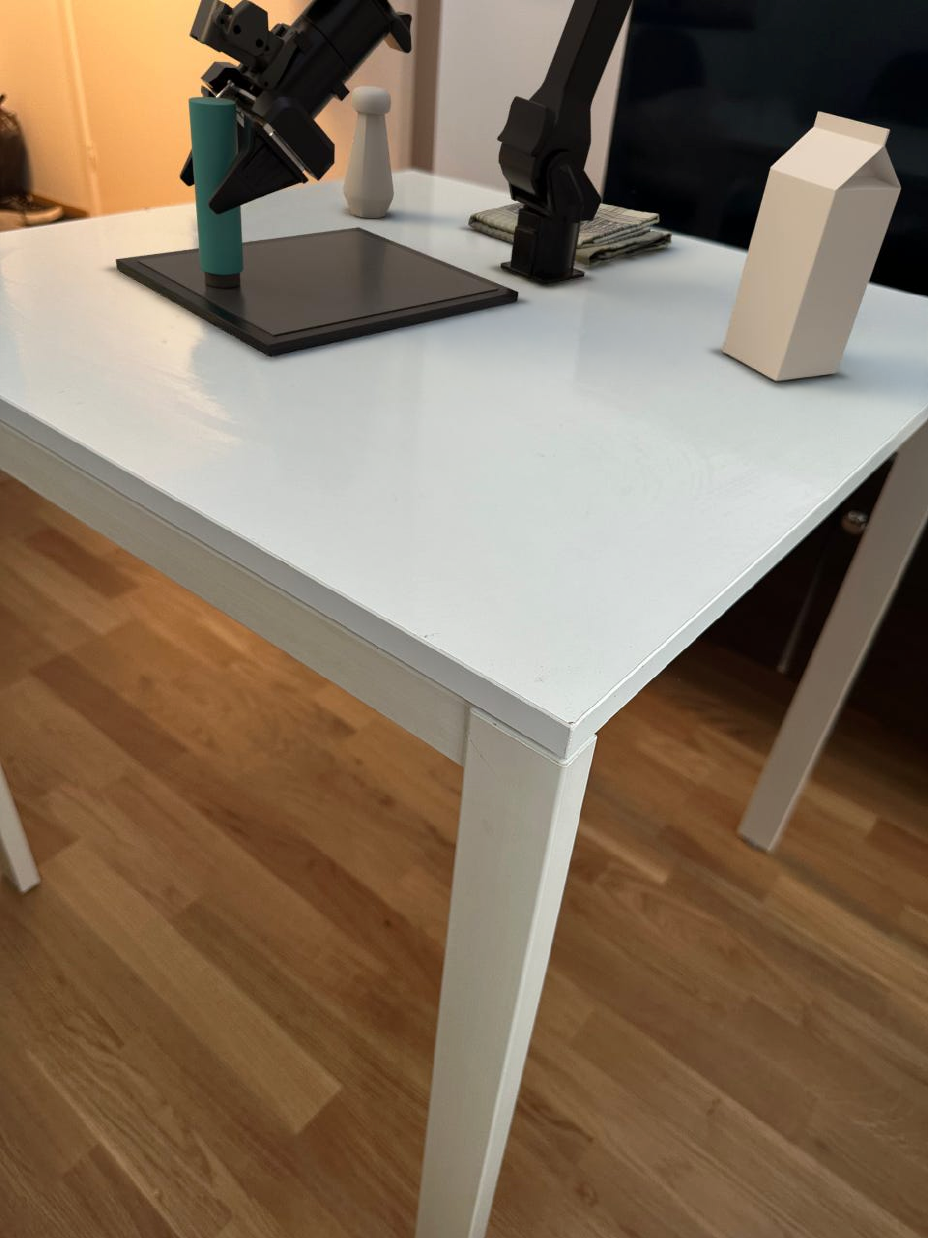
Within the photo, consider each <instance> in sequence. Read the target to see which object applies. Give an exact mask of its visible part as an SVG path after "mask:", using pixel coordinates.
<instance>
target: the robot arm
mask: <svg viewBox="0 0 928 1238" xmlns="http://www.w3.org/2000/svg"><path fill="white" fill-rule="evenodd" d="M633 1H634V0H573V3H572V6H571V8H570V11H569V14H568V17H567V19H566V22H565V25H564V27H563V31H562V33H561V35H560V38H559V41H558V42H557V46H556V48H555V51H554V53H553V57H552V59H551V62H550V64H549V67H548V70H547V73H546V75H545V77H544V80H543V82H542V84H541V85H540V87H539V88H538V89H537V90H536V91H535V93H533V95H532V96H531V97H530V98H529V99H527V98H524V97H521V96H518V95H516V96H514V97H513V100H512V101H511V104H510V107H509V111H508V115H507V119H506V123H505V125H504V127H503V129H502V130H501V132H500V134H499V135H498V136H497V137H496V141H498V142H500V143H501V144H500V147H499V151H498V158H497V159H498V160H497V161H498V164H499V166H500V170H501V174H502V176H503V178H504V179H505V180H506V181H507V184H508V189H509V195H510V199H511V200H512V201H514V202H517V203H522V204H523V205H524V206H523V208H520V209H519V212H518V220H517V226H516V227H515V230H514V239H513V243H512V248H511V255H510V261H504V262H500V266H499V268H500V269H502V270H504V271H507V272H510V273H512V274H515V275H517V276H520V277H523V278H525V279H527V280H530V281H533V282H535V283H538V284H541V285H545V286H549V285H553V284H557V283H563V282H567V281H572V280H576V279H582V278H584V277H585V274H586V272H585V271H584V270H581V269H578V268H575V263H576V261H575V257H576V251H577V245H578V239H579V232H580V226H581V222H583V221H592V220H593V219H594V217H595V215H596V213H597V210H598V208H599V206H600V204H602V201H603V199H602V197H601V195H600V194H599V192H598V190H597V189H596V186H594V184H593V182H592V181H591V179H590V177H589V175H588V174H587V172H586V171H585V168H586V163H587V160H588V159H587V158H588V156H589V153H590V149H591V145H592V105H593V102H594V99H595V96H596V94H597V92H598V89H599V85H600V83H601V81H602V79H603V77H604V74H605V71H606V68H607V66H608V63H609V61H610V58H611V56H612V53H613V51H614V49H615V46H616V44H617V40H618V38H619V36H620V33H621V31H622V30H623V29H622V28H623V26H624V23H625V22H626V18H627V16H628V13H629V12H630V8H631V6H632V4H633ZM412 21H413V16H412V15H411V14H410V13H408V12H403V11H396V10H395V8H394V6H392V3H391V2H390V0H311V1H310V2H309V4H308V5H307V6H306V7H305V8H304V10H303V11H302V12H301V13H300V14H299V15H298V16H297V17H296V18H295V20H294V21H293V22H292V23H291V24H286V23H285V22H281V23H280V22H278V23H276V24H275V25H274V26H273V27H272V28H271V29H270V28H269V27H270V26H269V12H268V11H267V10H266V9H264V8H263V7H261V6H259V5H257V3H255V2H253V1H251V0H241V1H240V2H238V3H237V4H236V5H235V6H234V7H232V6H230V4H228V3H226V2H224V1H222V0H200V3H199V5H198V8H197V12H196V15H195V17H194V20H193V23H192V25H191V29H190V32H189V37H190V38H192V39H193V40H195V41H196V42H198V43H200V44H202V45H205V46H206V47H209V48H210V49H212V50H214V51H215V52H217V53H223V54H224V55H226V56H228V57H230V58H231V59H233V60H235V61H236V62H238V63H239V64H238V65H236V64H234V63H232V62H230V61H216V60H215V61H213V63H212V64H211V65H210V66H209V67H208V68H207V70H206V71H205V72H204V73H203V74H202V76H201V77H200V79H201V81H202V82H203V83H204V84H205V85H204V84H202V85H201V86H200V93H201V95H202V97H213V98H222V99H228V100H232V101H234V102H236V115H237V137H238V155H237V156H236V158H235V159H234V161H233V162H232V164H231V165H230V167H229V169H228V170H227V172H226V173H225V175H224V176H223V178H222V179H221V181H220V183H219V184H218V186H217V187H216V189H215V191H214V192H213V194H212V196H211V198H210V199H209V201H208V207H209V208H210V209H211V210H212V211H213V212H214V213H216V214H221V213H224V212H226V211H229V210H231V209H234V208H236V207H238V206H243V205H245V204H248V203H250V202H253V201H255V200H258V199H261V198H264V197H266V196H268V195H271V194H274V193H277V192H279V191H282V190H285V189H287V188H290V187H293V186H296V185H298V184H303V185H305V184H306V183H308V182H309V180H310V179H309V178H308V177H307V175H309V176H310V177H312V178H313V179H315V180H316V181H317V182H319V181H320V180H321V179H323V177H324V176H325V175H326V174H327V172H328V171H330V169H331V168H332V167H333V166H334V164H335V161H336V159H335V157H336V144H335V143H334V142H333V141H332V140H331V138H330V137H329V136H328V134H327V133H326V132H325V130H323V128H322V127H321V126H320V125H319V124H318V123H317V122H316V120H315V119H316V118H317V117H318V116H319V115H320V114H321V112H322V111H323V110H324V109H325V108H326V107H327V106H328V105H329V104H330V102H331V101H332V100H333V99H336V100H338V101H340V102H343V101H344V100H345V99H346V97H348V95H349V94H350V93H351V91H350V90H349V89H348V87H347V86H346V84H347V83H348V82H349V80H350V79H351V78H352V77H353V76H354V74H356V72H358V70H359V69H360V68H361V67H362V65H363V64H364V63H365V62H366V61H367V60H368V59H369V58H370V57H371V55H372V54H374V52H375V51H376V50H377V48H378V47H379V46H380V45H381V44H382V42H385V43H386V45H387V46H388V47H389V48H390V49H393V50H395V51H397V52H401V53H404V54H410V53H411V52H412V48H413V46H412V45H413V44H412V33H411V26H412ZM304 171H305V172H306V174H307V175H306V174H305V173H304ZM179 179H180V181H182V182H183V183H184V184H185V185H186V186H187V187H188V188H189V187H192V186H195V184H194V170H193V156H192V148H191V149H190V151H189V154H188V156H187V158H186V160H185V162H184V164H183V166H182V169H181V171H180V173H179Z"/></svg>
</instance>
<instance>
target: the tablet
mask: <svg viewBox="0 0 928 1238" xmlns="http://www.w3.org/2000/svg"><path fill="white" fill-rule="evenodd" d="M242 248H243V271H242V272H240V281H241V283H240V285H238V286H236V287H231V288H218V287H212V286H209V285H207V284H206V283H205V274H204V271H203V270H201V268H200V254H199V247H198V248H197V247H196V248H191V249H189V248H188V249H183V250H175V251H167V252H160V253H152V254H144V255H137V256H130V257H121V258H116V259H115V267H116V270H117V271H119V272H121V273H123V274H125V275H126V276H128V277H130V278H132V279H134V280H135V281H137V282H138V283H140V284H142V285H144V286H146V287H148V288H149V289H151V290H152V291H154V292H156V293H158V294H159V295H161V296H163V297H165V298H167V299H169V300H170V301H172V302H174V303H175V304H177V305H179V306H181V307H182V308H184V309H186V310H188V311H190V312H191V313H193V314H195V315H196V316H199V317H200V318H201V319H203V320H205V321H207V322H209V323H211V324H212V325H214V326H216V327H218V328H219V329H221V330H222V331H224V332H226V333H228V334H230V335H232V336H233V337H235V338H237V339H238V340H240V341H242V342H244V343H245V344H248V345H249V346H251V347H252V348H253V349H254V348H255V349H256V350H257V351H260V352H262V354H265V355H267V356H269V357H272V356H276V355H281V354H285V353H289V352H295V351H299V350H304V349H308V348H312V347H317V346H321V345H322V346H323V345H325V344H330V343H336V342H339V341H340V342H341V341H344V340H348V339H349V340H350V339H353V338H357V337H362V336H367V335H371V334H376V333H380V332H384V331H390V330H393V329H398V328H402V327H407V326H411V325H416V324H420V323H425V322H430V321H434V320H438V319H439V320H440V319H443V318H449V317H452V316H456V315H461V314H465V313H466V314H467V313H470V312H474V311H475V312H476V311H479V310H484V309H488V308H493V307H497V306H502V305H507V304H510V303H515V302H518V301H519V293H520V292H519V291H518V290H516V289H513V288H510V287H508V286H505V285H503V284H500V283H498V282H495V281H493V280H490V279H488V278H485V277H483V276H480V275H478V274H475V273H473V272H471V271H468V270H466V269H463V268H461V267H458V266H456V265H453V264H451V263H448V262H446V261H444V260H441V259H438V258H436V257H434V256H431V255H428V254H426V253H423V252H421V251H419V250H416V249H413V248H411V247H408V246H406V245H403V244H401V243H399V242H397V241H394V240H391V239H388V238H386V237H384V236H381V235H379V234H376V233H375V232H372V231H369V230H366V229H364V228H361V227H359V226H357V227H350V228H349V227H348V228H343V229H335V230H328V231H320V232H312V233H303V234H297V235H290V236H289V235H288V236H281V237H274V238H267V239H259V240H251V241H242Z"/></svg>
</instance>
